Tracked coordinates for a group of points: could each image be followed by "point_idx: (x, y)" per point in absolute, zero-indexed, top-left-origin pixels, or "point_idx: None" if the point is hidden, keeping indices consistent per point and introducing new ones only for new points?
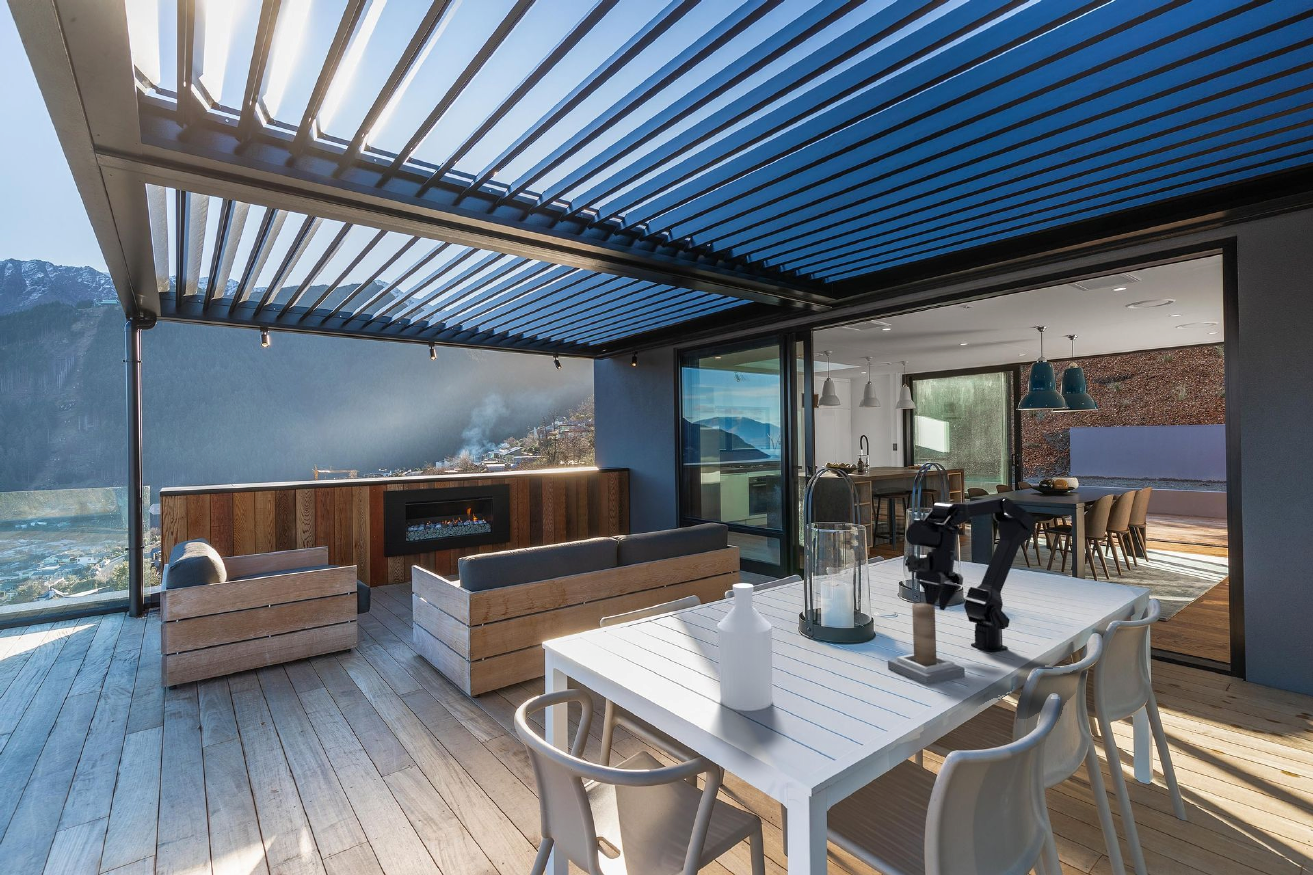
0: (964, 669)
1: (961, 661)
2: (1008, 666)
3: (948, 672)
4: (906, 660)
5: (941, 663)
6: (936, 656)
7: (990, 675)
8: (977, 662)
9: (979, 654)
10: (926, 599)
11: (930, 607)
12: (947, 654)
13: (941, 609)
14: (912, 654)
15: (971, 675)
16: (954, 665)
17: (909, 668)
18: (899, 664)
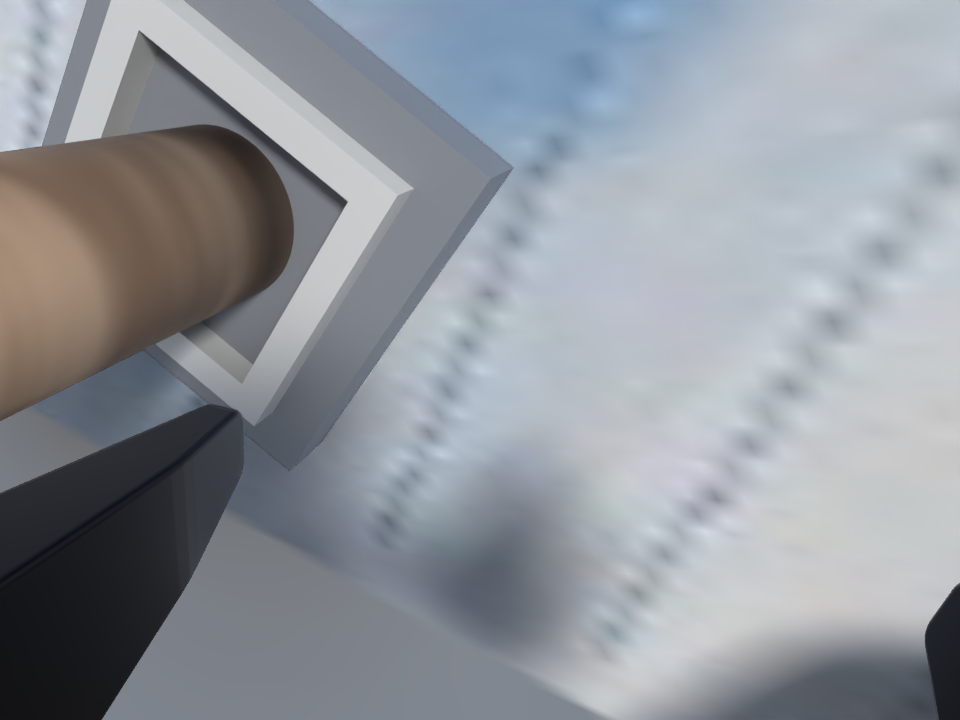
0: (295, 464)
1: (632, 447)
2: (649, 712)
3: (174, 368)
4: (97, 73)
5: (191, 340)
6: (320, 303)
7: (418, 580)
8: (657, 550)
9: (899, 597)
10: (3, 507)
11: None
12: (799, 349)
13: (945, 605)
14: (263, 96)
15: (360, 480)
16: (266, 416)
17: (67, 110)
18: (94, 14)
